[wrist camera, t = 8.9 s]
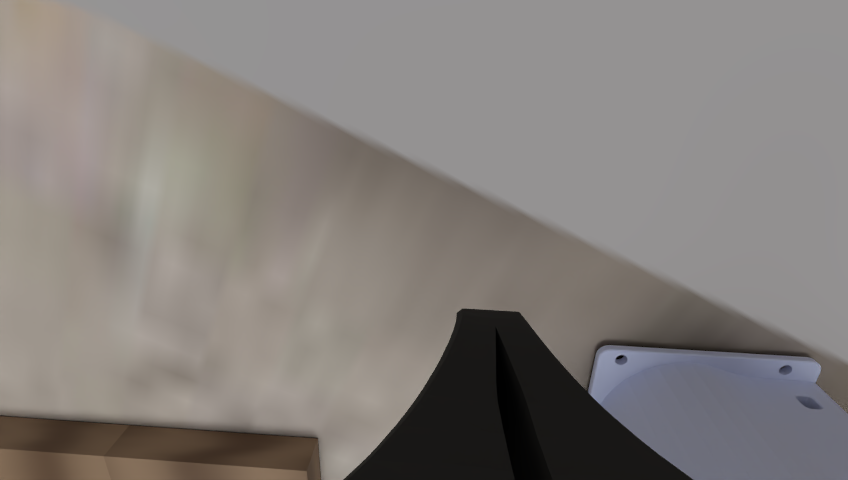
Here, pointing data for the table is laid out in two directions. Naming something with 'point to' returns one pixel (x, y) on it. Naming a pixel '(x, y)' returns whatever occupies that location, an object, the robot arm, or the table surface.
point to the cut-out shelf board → (148, 453)
